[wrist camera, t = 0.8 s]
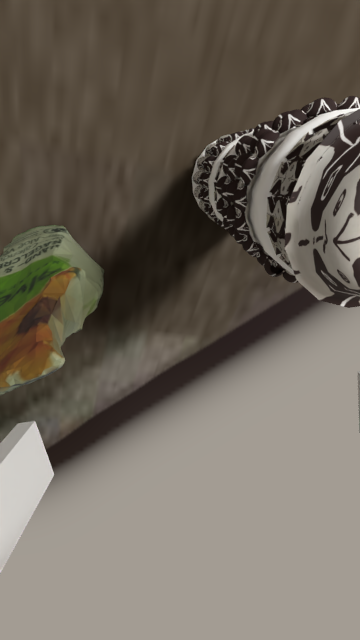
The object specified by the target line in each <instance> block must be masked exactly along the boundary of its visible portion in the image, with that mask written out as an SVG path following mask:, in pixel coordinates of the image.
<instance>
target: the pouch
mask: <svg viewBox="0 0 360 640" xmlns="http://www.w3.org/2000/svg"><path fill="white" fill-rule="evenodd" d="M103 274H104V270H103V269H102V268H101V267H100V266H99V265H98V264H97V263H96V262H95V261H94V260H92V259H91V258H90V256H89V255H88V254H87V253H86V252H85V251H84V250H83V249H82V248H81V247H80V246H79V245H78V244H77V242H76V241H75V240H74V239H73V238H72V237H71V235H70V234H69V232H68V231H67V229H66V228H65V227H64V226H56V225H50V226H38V227H36V228H32V229H30V230H27V231H26V232H24V233H21V234H18V235H17V236H16V237H14V238H13V241H12V242H11V243H10V244H8V245H7V246H6V247H4V252H3V254H2V255H1V256H0V395H2V394H4V393H6V392H9V391H11V390H13V389H16V388H18V387H20V386H23V385H25V384H29V383H32V382H34V381H36V380H38V379H41V378H43V377H45V376H47V375H49V374H51V373H53V372H55V371H56V370H58V369H59V368H61V367H62V366H63V364H64V362H65V359H64V356H63V353H62V351H61V346H62V345H63V343H64V341H65V338H67V337H68V336H69V335H71V334H72V333H77V332H78V331H79V330H82V326H83V322H84V320H85V318H86V317H87V316H88V315H89V314H91V313H92V312H94V310H95V309H96V308H97V305H98V302H99V300H100V298H101V296H102V293H103V286H104V277H103Z"/></svg>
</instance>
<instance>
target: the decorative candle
mask: <svg viewBox="0 0 360 640" xmlns="http://www.w3.org/2000/svg"><path fill="white" fill-rule="evenodd" d="M192 187H193V195H194V197H195V199H196V201H197V203H198V205H199V207H200V209H201V210H203V211H204V212H205V213H206V214H207V215H208V217H209V218H210V219H211V220H212V221H214V222H216V223H217V224H219V226H221V227H222V228H225V229H226V230H227V231H229V233H230V235H231V236H232V237H234V238H235V240H236V242H237V243H239V244H242V245H243V248H244V250H245V251H247V252H248V253H249V254H250V255H251V256H253V257H257V260H258V262H259V263H260V264H261V265H263V266H264V268H265V270H266V272H267V273H268V274H269V275H271V276H273V277H277V276H280V275H281V274H283V277H284V278H285V279H286V280H287V281H289V282H293V283H295V282H300V283H301V284H302V285H303V286H304V287H305V288H306V289H307V290H309V291H310V292H311V293H312V294H313V295H314V296H315V297H316V298H317V299H318V300H321V301H325V302H329V303H333V304H336V305H340V306H344V307H348V308H350V307H357V306H360V98H358V97H356V96H349V97H347V98H346V99H344V100H343V101H342V102H341V103H340V104H336V103H335V101H333V100H332V99H330V98H320V99H317V100H315V101H314V102H312V103H311V104H308V105H306V106H304V107H303V108H302V109H301V110H292V111H287V112H284V113H282V114H280V115H279V116H278V117H277V118H276V119H275V120H274V121H268V122H263V123H260V124H259V125H258V126H257V127H256V128H252V129H249V130H246V131H241V132H236V133H233V134H228V135H225V136H222V137H220V138H219V139H218V140H216V141H214V142H213V143H211V144H209V145H208V146H207V147H206V148H205V149H204V151H203V152H202V153H201V155H200V156H199V157H198V159H197V160H196V164H195V167H194V171H193V174H192ZM273 263H274V264H273Z"/></svg>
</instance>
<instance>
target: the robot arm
mask: <svg viewBox="0 0 360 640" xmlns="http://www.w3.org/2000/svg"><path fill="white" fill-rule="evenodd" d="M358 395H359V396H358V397H359V431H360V372H358ZM53 476H54V473H53V470H52V467H51V464H50V461H49V459H48V456H47V453H46V450H45V447H44V445H43V442H42V439H41V436H40V433H39V431H38V428H37V425H36V422H35V421H31V422H25V423H18V424H17V425H16V426H15V427H14V428H13V429H12V431H11V432H10V433H9V434H8V435H7V436H6V437H5V438H4V440H3V441H2V442H1V443H0V573H1V571H2V569H3V568H4V566H5V564H6V562H7V560H8V558H9V556H10V555H11V553H12V551H13V549H14V547H15V546H16V543H17V542H18V540H19V538H20V536H21V535H22V533H23V531H24V529H25V527H26V525H27V523H28V522H29V520H30V518H31V516H32V514H33V513H34V510H35V509H36V507H37V505H38V503H39V502H40V500H41V498H42V496H43V494H44V492H45V491H46V488H47V487H48V485H49V483H50V481H51V480H52V478H53Z"/></svg>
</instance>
